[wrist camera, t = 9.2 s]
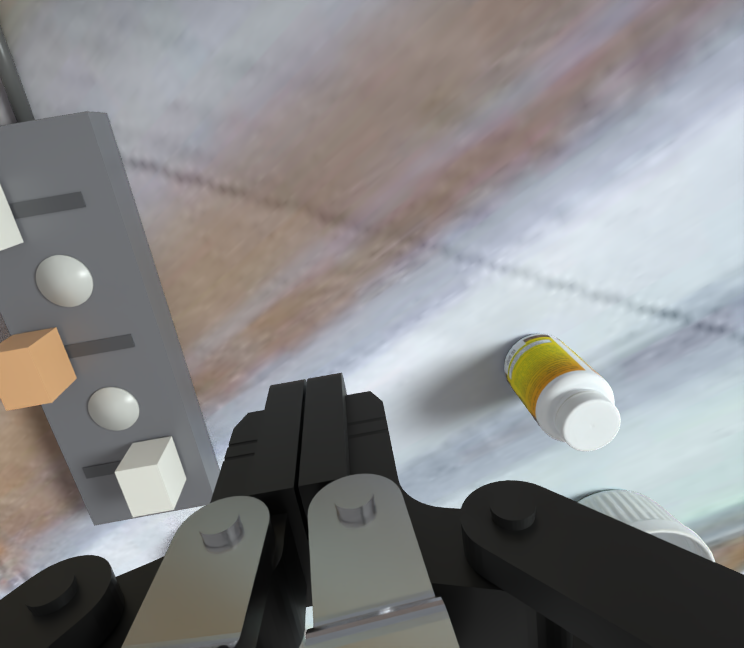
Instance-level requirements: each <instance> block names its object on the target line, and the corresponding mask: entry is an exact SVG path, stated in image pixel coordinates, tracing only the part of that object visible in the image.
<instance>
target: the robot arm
mask: <svg viewBox="0 0 744 648" xmlns="http://www.w3.org/2000/svg"><path fill="white" fill-rule="evenodd" d="M310 606H313V628H310V629H308V630H307V632H306V640H305V636H304V631H305V614H306V607H310ZM0 648H744V575H743V574H740V573H738V572H736V571H734V570H731V569H729V568H727V567H724V566H722V565H720V564H718V563H715V562H713V561H711V560H708V559H706V558H704V557H702V556H699V555H697V554H695V553H692V552H690V551H688V550H685V549H683V548H681V547H679V546H676V545H674V544H672V543H669V542H667V541H665V540H663V539H660V538H658V537H656V536H653V535H651V534H649V533H647V532H644V531H642V530H640V529H637V528H635V527H633V526H630V525H628V524H626V523H624V522H621V521H619V520H617V519H614V518H612V517H610V516H608V515H605V514H603V513H601V512H598V511H596V510H594V509H592V508H589V507H587V506H585V505H582V504H580V503H578V502H575V501H573V500H571V499H569V498H566V497H564V496H562V495H559V494H557V493H555V492H553V491H550V490H548V489H546V488H543V487H541V486H538V485H536V484H533V483H528V482H524V481H510V480H507V481H498V482H493V483H490V484H487V485H484V486H482V487H480V488H478V489H476V490H475V491H473V492H472V493H471V494H470V495H469V496H468V497H467V498H466V499H465V501H464V503H463V504H462V507H461V509H455V508H442V507H434V506H430V505H426V504H424V503H421V502H419V501H417V500H415V499H413V498H412V497H410V496H409V495H408V494H407V493H406V492H405V491H404V490H403V489H402V487H401V485H400V483H399V480H398V476H397V471H396V466H395V461H394V456H393V451H392V446H391V441H390V436H389V431H388V426H387V421H386V416H385V411H384V406H383V402H382V401H381V400H380V399H379V398H378V397H377V396H375V395H374V394H373V393H372V392H371V391H368V392H362V393H357V394H351V395H347V393H346V388H345V383H344V378H343V375H342V373H337V374H332V375H326V376H320V377H315V378H309V379H307V381H306V380H305V379H304V380H298V381H293V382H287V383H281V384H276V385H271V386H270V388H269V392H268V397H267V401H266V405H265V410H262V411H256V412H250V413H248V414H247V415H246V416H245V417H244V418H243V419H242V420H241V421H240V422H239V423H238V424H237V425H236V427H235V428H234V429H233V433H232V436H231V439H230V442H229V448H227V451H226V455H225V461H223V464H222V467H221V470H220V473H219V477H218V480H217V483H216V486H215V489H214V492H213V495H212V499H211V502H210V504H208V505H206V506H204V507H202V508H201V509H199V510H197V511H196V512H195V513H193V514H192V515H191V516H189V517H188V518H187V519H186V520H185V521H184V522H183V523H182V525H181V526H180V527H179V528H178V530H177V532H176V534H175V535H174V537H173V540H172V542H171V544H170V546H169V548H168V550H167V552H166V554H165V556H164V557H162V558H159V559H157V560H155V561H153V562H150V563H148V564H146V565H143V566H141V567H139V568H136V569H134V570H131V571H129V572H127V573H124V574H122V575H119V576H117V577H115V575H114V572H113V570H112V568H111V566H110V564H109V562H108V561H107V560H105V559H104V558H102V557H99V556H94V555H84V556H77V557H73V558H69V559H66V560H64V561H61V562H58V563H56V564H54V565H52V566H50V567H48V568H46V569H44V570H42V571H41V572H39V573H38V574H36V575H35V576H33V577H31V578H30V579H29V580H27V581H26V582H24V583H23V584H22V585H20V586H19V587H18V588H16V589H15V590H13V591H12V592H11V593H9V594H8V595H6V596H5V597H4V598H2V599H1V600H0Z"/></svg>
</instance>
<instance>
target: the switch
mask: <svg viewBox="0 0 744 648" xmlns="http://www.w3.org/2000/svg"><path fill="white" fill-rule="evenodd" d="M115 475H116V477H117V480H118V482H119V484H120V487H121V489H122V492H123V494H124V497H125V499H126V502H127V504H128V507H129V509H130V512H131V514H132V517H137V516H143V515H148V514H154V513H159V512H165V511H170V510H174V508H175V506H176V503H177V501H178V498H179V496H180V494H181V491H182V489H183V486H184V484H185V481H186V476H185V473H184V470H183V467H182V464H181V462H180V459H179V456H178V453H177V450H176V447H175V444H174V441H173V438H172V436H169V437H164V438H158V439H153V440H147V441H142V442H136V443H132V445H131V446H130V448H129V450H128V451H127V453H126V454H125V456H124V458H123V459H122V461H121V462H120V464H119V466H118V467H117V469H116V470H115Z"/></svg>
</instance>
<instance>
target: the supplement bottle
mask: <svg viewBox="0 0 744 648" xmlns="http://www.w3.org/2000/svg"><path fill="white" fill-rule="evenodd" d="M504 372H505V376H506V379H507V381H508V383H509V384H510V386H511V387H512V389H513V390H514V391H515V393H516V394H517V396H518V397H519V398H520V400H521V401H522V403H523V404H524V405H525V406H526V408H527V409H528V411H529V412H530V413H531V415H532V416H533V418H534V419H535V420H536V422H537V423H538V425H539V426H540V427H541V429H542V430H543V431H544V432H545V433H546V434H547V435H548V436H550V437H551V438H553V439H556V440H558V441H562V442H566V443H567V444H568V445H569V446H571V447H572V448H574V449H576V450H579V451H594V450H597V449H600V448H602V447H604V446H605V445H607V444H608V443H609V442H611V441H612V440H613V438H614V437H615V436H616V434H617V432H618V430H619V428H620V423H621V418H620V414H619V411H618V409H617V408H616V407H615V406H614V395H613V391H612V389H611V387H610V385H609V384H608V383H607V382H606V381H605V379H604V378H603V377H601V376H600V375H599V374H598V373H597V372H596V371H595V370H594V369H592V368H591V367H590V366H589V365H588V364H587V363H586V362H585V361H584V360H582V359H581V358H580V357H579V356H578V355H577V354H576V353H575V352H574V351H572V350H571V349H570V348H569V347H568V346H567V345H565V344H564V343H563V342H562V341H561V340H559V339H558V338H556V337H554V336H552V335H548V334H533V335H529V336H527V337H524V338H522V339H521V340H519V341H518V342H517V343H516V344H514V345H513V347H512V348H511V349H510V351H509V352H508V354H507V356H506V359H505V364H504Z"/></svg>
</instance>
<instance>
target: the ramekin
mask: <svg viewBox="0 0 744 648" xmlns="http://www.w3.org/2000/svg"><path fill="white" fill-rule="evenodd" d="M578 503H580V504H582V505H585V506H587V507H589V508H592V509H594V510H596V511H598V512H601V513H603V514H605V515H608V516H610V517H612V518H614V519H617V520H619V521H621V522H624V523H626V524H628V525H630V526H633V527H635V528H637V529H640V530H642V531H644V532H647V533H649V534H651V535H653V536H656V537H658V538H660V539H663V540H665V541H667V542H669V543H672V544H674V545H676V546H679V547H681V548H683V549H685V550H688V551H690V552H692V553H695V554H697V555H699V556H702V557H704V558H706V559H708V560H711V561H713V562H715V560H714V557H713V554H712V552H711V551H710V549H709V548H708V546H707V545H706V544H705V543H704V542H703V540H702V539H701V538H700V537H699V536H698V535H697V534H696V533H695V532H694V531H692V530H691V529H690V528H688V527H686V526H684V525H683V524H682V523H681V522H679V521H678V520H677V519H676V518H675V517H674V516H673V515H671V514H670V513H669V512H668V511H667V510H665V509H664V508H663V507H662V506H661V505H659V504H658V503H657V502H655V501H654V500H652V499H650V498H649V497H647V496H645V495H642V494H640V493H637V492H633V491H626V490H608V491H602V492H598V493H595V494H592V495H590V496H587V497H585V498H583V499H581V500H580V501H578Z"/></svg>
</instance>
